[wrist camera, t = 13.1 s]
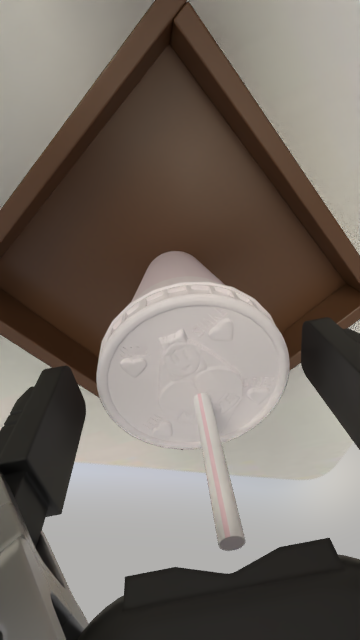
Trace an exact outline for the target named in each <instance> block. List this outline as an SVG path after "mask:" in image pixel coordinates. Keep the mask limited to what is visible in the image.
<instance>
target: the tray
mask: <svg viewBox="0 0 360 640" xmlns="http://www.w3.org/2000/svg"><path fill="white" fill-rule="evenodd" d="M186 2H187V0H155V1H154V2H153V4H152V5H151V7H150V8H149V9H148V11H147V12H146V13H145V15H144V16H143V17H142V19H141V20H140V21H139V23H138V24H137V26H136V27H135V28H134V30H133V31H132V32H131V34H130V35H129V36H128V38H127V39H126V40H125V42H124V43H123V45H122V46H121V47H120V49H119V50H118V51H117V53H116V54H115V55H114V57H113V58H112V59H111V61H110V62H109V63H108V65H107V66H106V68H105V69H104V70H103V72H102V73H101V74H100V76H99V77H98V78H97V80H96V81H95V82H94V84H93V85H92V87H91V88H90V89H89V91H88V92H87V93H86V95H85V96H84V97H83V99H82V100H81V101H80V103H79V104H78V105H77V107H76V108H75V110H74V111H73V112H72V114H71V115H70V116H69V118H68V119H67V120H66V122H65V123H64V124H63V126H62V127H61V129H60V130H59V131H58V133H57V134H56V135H55V137H54V138H53V139H52V141H51V142H50V143H49V145H48V146H47V147H46V149H45V150H44V152H43V153H42V154H41V156H40V157H39V158H38V160H37V161H36V162H35V164H34V165H33V166H32V168H31V169H30V171H29V172H28V173H27V175H26V176H25V177H24V179H23V180H22V181H21V183H20V184H19V185H18V187H17V188H16V190H15V191H14V192H13V194H12V195H11V196H10V198H9V199H8V200H7V202H6V203H5V204H4V206H3V207H2V208H1V210H0V335H2V336H3V337H5V338H7V339H8V340H10V341H11V342H13V343H14V344H16V345H18V346H19V347H21V348H22V349H24V350H25V351H27V352H29V353H30V354H32V355H33V356H35V357H36V358H38V359H40V360H41V361H43V362H44V363H46V364H47V365H49V366H50V367H52V368H55V367H60V366H66V365H67V366H69V367H70V368H71V370H72V372H73V375H74V377H75V379H76V382H77V384H79V385H80V386H82V387H83V388H85V389H87V390H88V391H90V392H91V393H93V394H94V395H96V396H98V397H99V394H98V390H97V382H96V376H97V367H98V359H99V354H100V348H101V342H102V340H103V338H104V336H105V334H106V332H107V330H108V328H109V326H110V325H111V323H112V321H113V320H114V319H115V318H116V317H117V316H118V315H119V314H120V313H121V312H122V311H123V310H124V309H125V308H126V307H127V306H128V305H129V304H130V303H131V301H132V299H133V297H134V295H135V293H136V291H137V289H138V287H139V285H140V283H141V281H142V279H143V277H144V275H145V273H146V270H147V268H148V267H149V265H150V263H151V262H152V261H153V260H154V259H155V258H156V257H158V256H159V255H161V254H163V253H166V252H170V251H181V252H185V253H188V254H190V255H192V256H193V257H195V258H196V259H197V260H198V261H199V262H200V263H201V264H202V265H204V266H205V267H206V268H207V269H208V270H209V271H210V272H211V273H212V274H213V275H215V276H216V277H217V278H218V279H219V280H220V281H221V282H222V283H223V284H224V285H226V286H231V287H234V288H236V289H238V290H239V291H241V292H243V293H245V294H247V295H249V296H251V297H252V298H254V299H255V300H256V301H257V302H258V303H259V304H260V305H261V306H262V307H263V308H264V309H265V310H266V311H267V312H268V313H269V314H270V315H271V317H272V319H273V321H274V323H275V325H276V327H277V328H278V330H279V331H280V333H281V334H282V336H283V338H284V340H285V343H286V346H287V349H288V353H289V361H290V367H289V371H290V370H291V369H293V368H294V367H295V366H297V365H298V364H299V363H301V342H302V325H303V323H304V322H305V321H308V320H314V319H319V318H324V317H329V318H331V319H332V320H333V321H334V322H335V323H337V324H338V325H339V326H340V327H341V328H342V329H346V328H348V327H350V326H351V325H352V324H354V323H355V322H356V321H358V320H359V319H360V255H359V254H358V252H357V251H356V249H355V248H354V247H353V245H352V244H351V242H350V241H349V239H348V238H347V236H346V235H345V233H344V232H343V230H342V229H341V227H340V226H339V224H338V223H337V221H336V220H335V218H334V217H333V215H332V214H331V212H330V211H329V209H328V208H327V206H326V205H325V203H324V202H323V200H322V199H321V197H320V196H319V195H318V193H317V192H316V190H315V189H314V187H313V186H312V184H311V183H310V181H309V180H308V178H307V177H306V175H305V174H304V172H303V171H302V169H301V168H300V166H299V165H298V163H297V162H296V160H295V159H294V157H293V156H292V154H291V153H290V151H289V150H288V148H287V147H286V145H285V144H284V143H283V141H282V140H281V138H280V137H279V135H278V134H277V132H276V131H275V129H274V128H273V126H272V125H271V123H270V122H269V120H268V119H267V117H266V116H265V114H264V113H263V111H262V110H261V108H260V107H259V105H258V104H257V102H256V101H255V99H254V98H253V96H252V95H251V93H250V92H249V91H248V89H247V88H246V86H245V85H244V83H243V82H242V80H241V79H240V77H239V76H238V74H237V73H236V71H235V70H234V68H233V67H232V65H231V64H230V62H229V61H228V59H227V58H226V56H225V55H224V53H223V52H222V50H221V49H220V47H219V46H218V44H217V43H216V41H215V40H214V39H213V37H212V36H211V34H210V33H209V31H208V30H207V28H206V27H205V25H204V24H203V22H202V21H201V19H200V18H199V16H198V15H197V13H196V12H195V10H194V9H193V7H192V6H191V4H190V3H189V2H187V3H186ZM99 398H100V397H99ZM181 450H183V449H181Z"/></svg>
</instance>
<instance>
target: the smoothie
mask: <svg viewBox="0 0 360 640" xmlns="http://www.w3.org/2000/svg"><path fill="white" fill-rule="evenodd" d="M289 367H290V361H289V353H288V349H287V346H286V343H285V340H284V338H283V336H282V334H281V333H280V331H279V330H278V328H277V327H276V325H275V323H274V321H273V319H272V317H271V315H270V314H269V313H268V312H267V311H266V310H265V309H264V308H263V307H262V306H261V305H260V304H259V303H258V302H257V301H256V300H255V299H254V298H252V297H251V296H249V295H247V294H245V293H243V292H241V291H239V290H238V289H236V288H234V287H231V286H226V285H224V284H223V283H222V282H221V281H220V280H219V279H218V278H217V277H216V276H215V275H213V274H212V273H211V272H210V271H209V270H208V269H207V268H206V267H205V266H204V265H202V264H201V263H200V262H199V261H198V260H197V259H196V258H195V257H193V256H192V255H190V254H188V253H185V252H181V251H170V252H166V253H163V254H161V255H159V256H158V257H156V258H155V259H154V260H153V261H152V262H151V263H150V265H149V267H148V268H147V270H146V273H145V275H144V277H143V279H142V281H141V283H140V285H139V287H138V289H137V291H136V293H135V295H134V297H133V299H132V301H131V303H130V304H129V305H128V306H127V307H126V308H125V309H124V310H123V311H122V312H121V313H120V314H119V315H118V316H117V317H116V318H115V319H114V320H113V321H112V323H111V325H110V326H109V328H108V330H107V332H106V334H105V336H104V338H103V340H102V342H101V348H100V354H99V359H98V367H97V376H96V382H97V390H98V394H99V397H100V400H101V403H102V405H103V407H104V409H105V410H106V412H107V413H108V415H109V416H110V417H111V419H112V420H113V421H114V422H115V423H116V424H117V425H118V426H119V427H120V428H122V429H123V430H124V431H125V432H127V433H129V434H130V435H132V436H133V437H135V438H137V439H139V440H142V441H144V442H146V443H149V444H152V445H156V446H159V447H165V448H172V449H198V448H202V452H203V458H204V464H205V470H206V475H207V481H208V487H209V493H210V498H211V504H212V510H213V516H214V522H215V528H216V533H217V539H218V545H219V547H220V549H222V550H226V551H230V550H236V549H239V548H241V547H242V546H243V545H244V544H245V537H244V533H243V529H242V525H241V521H240V517H239V513H238V509H237V505H236V501H235V497H234V492H233V489H232V484H231V480H230V476H229V472H228V468H227V464H226V460H225V456H224V452H223V448H222V443H225V442H228V441H230V440H232V439H235V438H237V437H239V436H241V435H243V434H244V433H246V432H248V431H249V430H251V429H253V428H254V427H255V426H256V425H258V424H259V423H260V422H261V421H262V420H264V419H265V418H266V417H267V416H268V414H269V413H270V412H271V411H272V410H273V409H274V407H275V406H276V405H277V403H278V401H279V400H280V398H281V396H282V394H283V392H284V390H285V387H286V385H287V381H288V376H289Z"/></svg>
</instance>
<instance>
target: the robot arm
mask: <svg viewBox="0 0 360 640" xmlns="http://www.w3.org/2000/svg"><path fill="white" fill-rule="evenodd" d="M301 364H302V368H303V371H304V373H305V375H306V377H307V378H308V379H309V381H310V382H311V384H312V385H313V386H314V388H315V389H316V390H317V392H318V393H319V395H320V396H321V397H322V399H323V400H324V401H325V403H326V404H327V406H328V407H329V408H330V410H331V411H332V412H333V414H334V415H335V417H336V418H337V419H338V421H339V422H340V423H341V425H342V426H343V428H344V429H345V430H346V432H347V433H348V434H349V436H350V437H351V439H352V440H353V441H354V443H355V444H356V445H357V447H358V448H359V449H360V334H359V333H357V332H355V331H352V330H350V329H348V328H346V329H342V328H341V327H340V326H339V325H338V324H337V323H335V322H334V321H333V320H332V319H331V318H329V317H324V318H319V319H314V320H308V321H305V322H304V323H303V325H302V342H301ZM10 414H11V415H9V416H8V418H7V420H6V422H5V423H4V425H5V426H4V427H2V429H1V431H0V640H360V560H359V559H356V558H352V557H348V556H344V555H338V554H337V552H336V550H335V548H334V546H333V544H332V542H331V540H330V538H326V539H320V540H315V541H310V542H305V543H299V544H294V545H289V546H284V547H279V548H277V549H276V550H274V551H272V552H270V553H268V554H267V555H265V556H263V557H261V558H260V559H258V560H256V561H254V562H252V563H251V564H249V565H247V566H245V567H243V568H242V569H240V570H238V571H236V572H234V573H231V574H223V573H215V572H208V571H201V570H192V569H184V568H178V567H174V568H168V569H163V570H158V571H153V572H147V573H142V574H138V575H133V576H127V577H125V589H124V596H122V597H120V598H118V599H117V600H116V601H114V602H113V603H112V604H110V605H109V606H107V607H106V608H105V609H104V610H103V611H102V612H101V613H99V615H97V616H96V617H95V618H94V619H93V620H92V621H91V622H90V623H88V622H87V620H86V618H85V616H84V614H83V612H82V611H81V609H80V607H79V606H78V604H77V602H76V601H75V599H74V597H73V595H72V593H71V591H70V589H69V587H68V585H67V582H66V580H65V578H64V576H63V574H62V572H61V570H60V567H59V565H58V563H57V561H56V559H55V556H54V554H53V552H52V550H51V548H50V545H49V543H48V541H47V539H46V537H45V535H44V533H43V532H42V527H43V523H44V520H45V517H48V516H53V515H59V514H61V513H62V509H63V505H64V501H65V497H66V493H67V488H68V485H69V480H70V477H71V473H72V469H73V465H74V461H75V457H76V453H77V448H78V444H79V440H80V436H81V432H82V428H83V424H84V420H85V415H86V407H85V401H84V398H83V396H82V394H81V391H80V389H79V387H78V384H77V382H76V379H75V377H74V375H73V372H72V370H71V368H70V367H69V366H67V365H66V366H60V367H55V368H50V369H45V370H43V371H42V373H41V375H40V377H39V379H38V381H37V383H36V385H35V387H30V388H29V389H28V390H27V391H26V392H25V393H24V394H23V395H22V396H21V397H20V398H19V399H18V400H17V401H16V403H15V405H14V407H13V409H12V411H11V412H10Z"/></svg>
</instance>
